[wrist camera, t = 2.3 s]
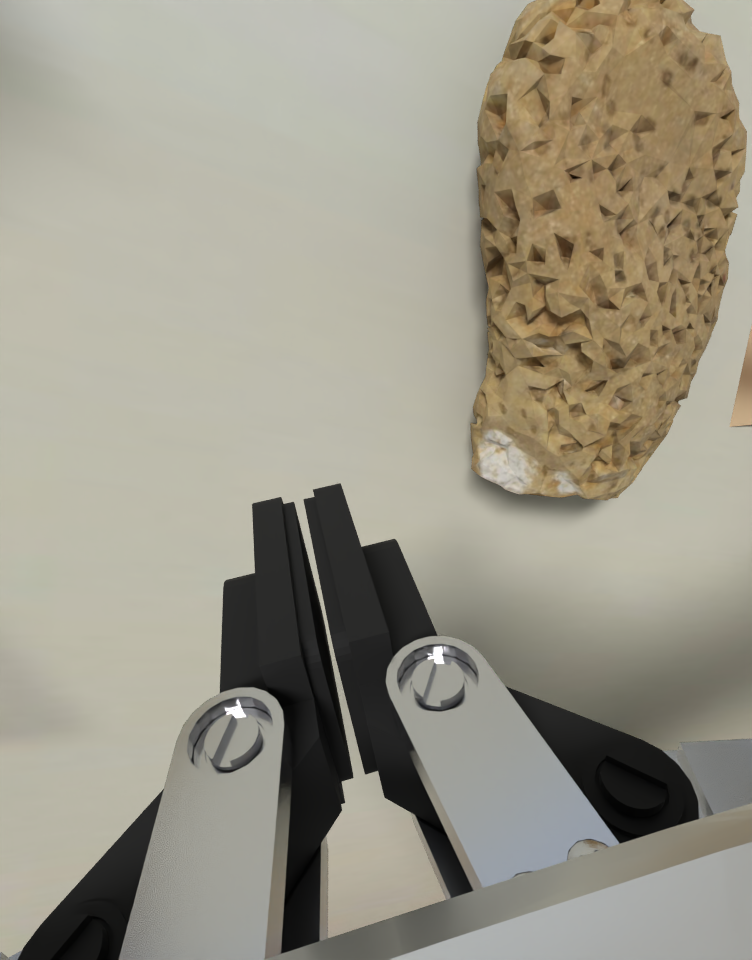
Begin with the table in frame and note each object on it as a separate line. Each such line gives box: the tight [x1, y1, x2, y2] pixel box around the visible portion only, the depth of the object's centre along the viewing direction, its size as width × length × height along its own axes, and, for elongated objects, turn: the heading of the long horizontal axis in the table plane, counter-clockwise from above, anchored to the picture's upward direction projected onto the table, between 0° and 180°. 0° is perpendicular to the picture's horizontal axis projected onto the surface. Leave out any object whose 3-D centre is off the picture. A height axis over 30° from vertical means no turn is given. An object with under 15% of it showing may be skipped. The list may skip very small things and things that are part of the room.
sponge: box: [470, 0, 747, 500], centre depth 24 cm, size 13×8×20 cm
